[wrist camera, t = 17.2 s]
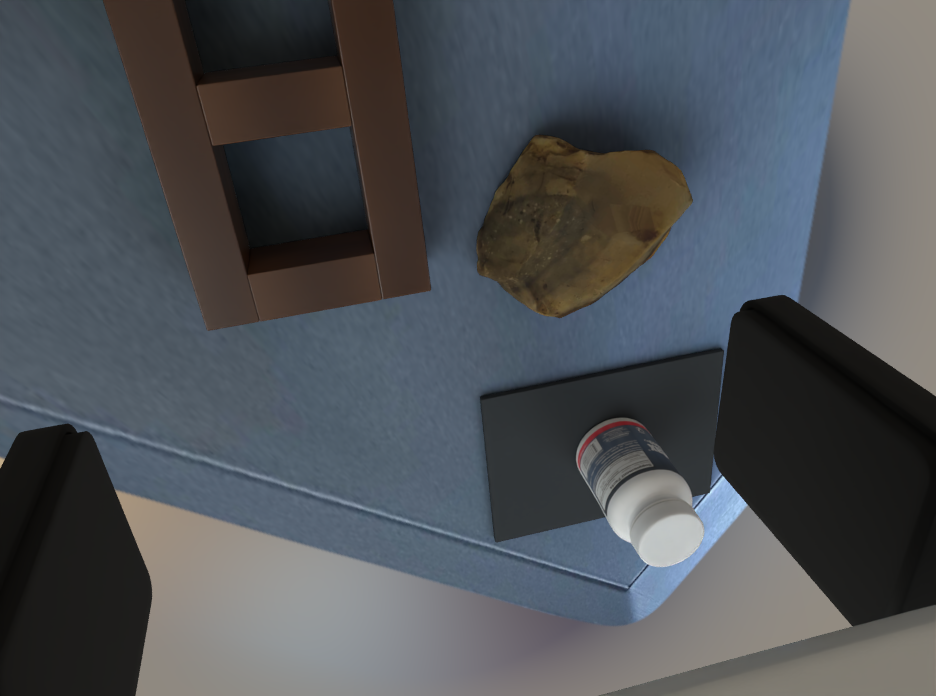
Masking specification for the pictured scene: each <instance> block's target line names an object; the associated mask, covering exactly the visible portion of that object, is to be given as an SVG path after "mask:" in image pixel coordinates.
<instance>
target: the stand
mask: <svg viewBox="0 0 936 696" xmlns="http://www.w3.org/2000/svg"><path fill="white" fill-rule="evenodd" d="M103 3H104V6H105V9H106V12H107V15H108V18H109V22H110V25H111V28H112V31H113V34H114V37H115V41H116V44H117V47H118V50H119V53H120V56H121V60H122V63H123V66H124V69H125V72H126V75H127V79H128V82H129V85H130V88H131V91H132V94H133V98H134V101H135V104H136V107H137V110H138V113H139V117H140V120H141V123H142V126H143V129H144V132H145V136H146V139H147V142H148V145H149V148H150V151H151V155H152V158H153V161H154V164H155V167H156V170H157V174H158V177H159V180H160V183H161V186H162V189H163V193H164V196H165V199H166V202H167V205H168V208H169V212H170V215H171V218H172V221H173V224H174V227H175V231H176V234H177V237H178V240H179V243H180V246H181V249H182V253H183V256H184V259H185V262H186V265H187V268H188V272H189V275H190V278H191V281H192V284H193V287H194V291H195V294H196V297H197V300H198V303H199V306H200V310H201V313H202V316H203V319H204V322H205V325H206V329H207V330H208V331H209V330H215V329H220V328H226V327H232V326H237V325H243V324H248V323H254V322H259V320H260V321H266V320H271V319H277V318H283V317H288V316H294V315H299V314H305V313H310V312H316V311H322V310H327V309H333V308H338V307H344V306H349V305H355V304H361V303H366V302H372V301H377V300H382V299H387V298H392V297H398V296H404V295H409V294H415V293H420V292H426V291H430V290H431V284H430V277H429V269H428V262H427V254H426V246H425V239H424V231H423V224H422V216H421V209H420V201H419V193H418V186H417V178H416V171H415V163H414V155H413V148H412V140H411V133H410V125H409V118H408V110H407V102H406V95H405V87H404V80H403V72H402V65H401V57H400V49H399V42H398V34H397V27H396V19H395V11H394V4H393V0H328V4H329V10H330V16H331V22H332V27H333V33H334V39H335V45H336V50H337V56H338V57H337V56H328V57H320V58H313V59H305V60H297V61H290V62H282V63H274V64H267V65H259V66H251V67H244V68H236V69H228V70H221V71H213V72H205V73H204V71H203V68H202V64H201V60H200V56H199V52H198V49H197V45H196V41H195V37H194V33H193V30H192V26H191V22H190V18H189V15H188V11H187V7H186V3H185V0H103ZM348 126H350V131H351V137H352V143H353V149H354V154H355V160H356V166H357V172H358V177H359V183H360V189H361V195H362V200H363V206H364V212H365V218H366V224H367V229H368V230H367V229H366V230H360V231H354V232H348V233H342V234H336V235H330V236H324V237H318V238H312V239H305V240H299V241H293V242H287V243H281V244H275V245H269V246H263V247H257V248H251V249H250V246H249V242H248V238H247V234H246V230H245V227H244V223H243V219H242V215H241V211H240V208H239V204H238V200H237V196H236V193H235V189H234V185H233V181H232V177H231V174H230V170H229V166H228V162H227V158H226V155H225V151H224V147H223V145H224V144H231V143H238V142H244V141H251V140H258V139H265V138H272V137H279V136H286V135H293V134H300V133H307V132H314V131H321V130H327V129H334V128H341V127H348Z"/></svg>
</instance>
